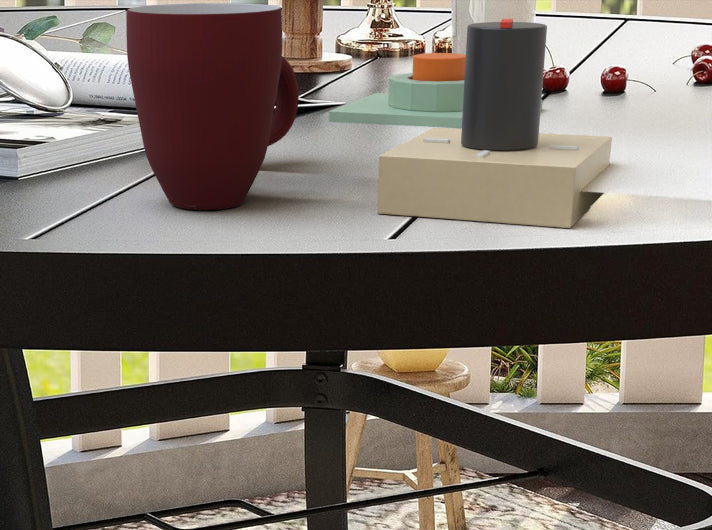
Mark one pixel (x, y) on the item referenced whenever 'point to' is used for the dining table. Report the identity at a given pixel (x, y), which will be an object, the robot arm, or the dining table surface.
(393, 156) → the block
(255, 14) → the mug
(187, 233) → the dining table surface
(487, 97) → the dial
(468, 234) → the dining table surface
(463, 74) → the button
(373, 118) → the kettle base
